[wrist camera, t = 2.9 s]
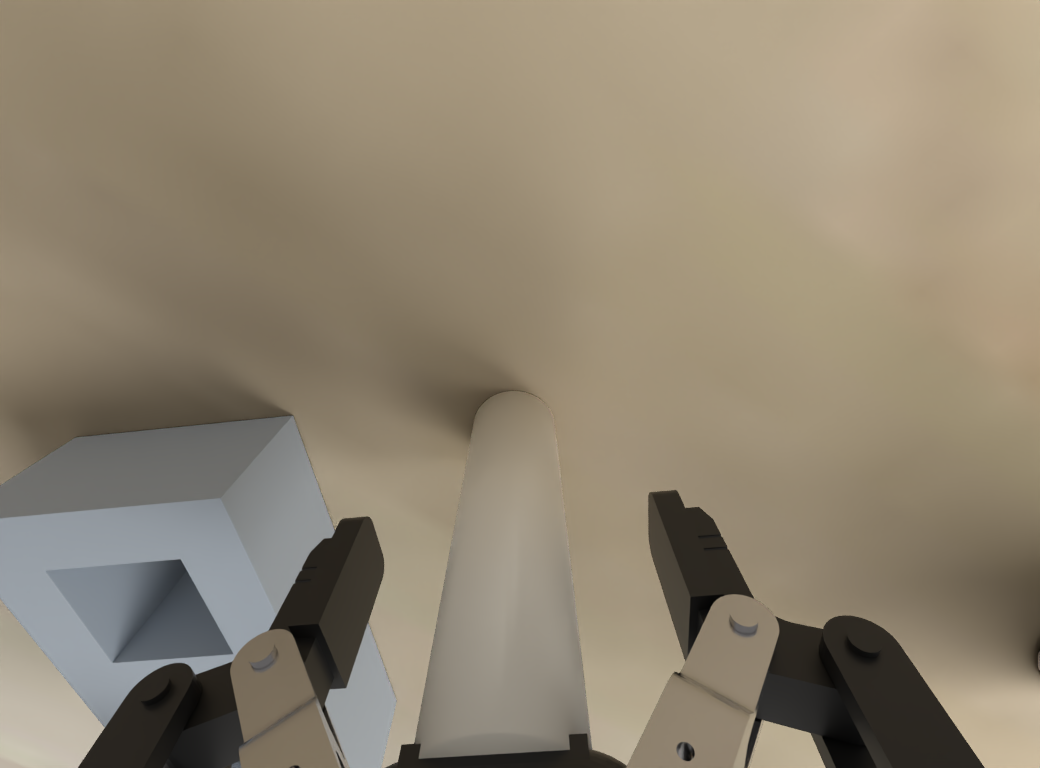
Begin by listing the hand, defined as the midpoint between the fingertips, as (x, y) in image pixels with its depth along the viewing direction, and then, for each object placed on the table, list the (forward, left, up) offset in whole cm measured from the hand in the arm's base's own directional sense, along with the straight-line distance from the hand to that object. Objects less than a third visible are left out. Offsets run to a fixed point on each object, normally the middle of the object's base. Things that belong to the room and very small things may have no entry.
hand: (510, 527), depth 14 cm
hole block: (+13, +8, -6) cm, 16 cm away
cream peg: (0, 0, -6) cm, 6 cm away
